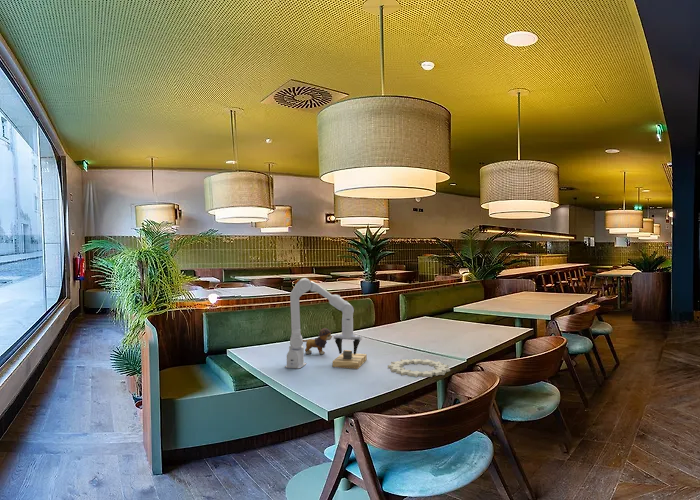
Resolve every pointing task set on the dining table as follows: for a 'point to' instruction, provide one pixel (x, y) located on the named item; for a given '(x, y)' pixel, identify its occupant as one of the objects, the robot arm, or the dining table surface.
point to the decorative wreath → (439, 370)
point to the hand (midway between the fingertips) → (347, 353)
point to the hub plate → (350, 361)
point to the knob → (347, 354)
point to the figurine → (318, 341)
